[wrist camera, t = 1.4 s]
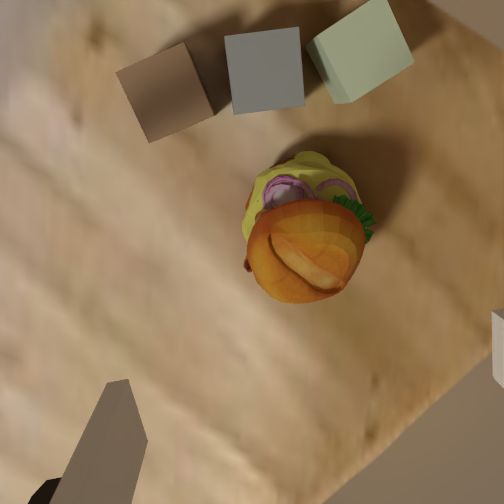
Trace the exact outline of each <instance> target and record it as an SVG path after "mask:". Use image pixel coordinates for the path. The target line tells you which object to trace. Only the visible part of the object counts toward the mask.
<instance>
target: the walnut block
mask: <svg viewBox="0 0 504 504" xmlns="http://www.w3.org/2000/svg"><path fill="white" fill-rule="evenodd" d="M116 74H117V76H118V78H119V81H120V83H121V85H122V87H123V89H124V91H125V93H126V95H127V98H128V100H129V102H130V104H131V106H132V108H133V110H134V112H135V115H136V117H137V119H138V121H139V123H140V125H141V127H142V130H143V132H144V134H145V136H146V138H147V140H148V142H149V143H151V142H153V141H156V140H158V139H161V138H163V137H165V136H168V135H170V134H172V133H175V132H177V131H179V130H182V129H184V128H186V127H189V126H191V125H193V124H196V123H198V122H200V121H203V120H205V119H208V118H210V117H212V116H215V115H216V113H215V111H214V109H213V106H212V104H211V101H210V99H209V96H208V94H207V91H206V89H205V87H204V84H203V82H202V79H201V77H200V74H199V72H198V70H197V67H196V65H195V62H194V60H193V57H192V55H191V52H190V51H189V49H188V48H187V46H186V45H185V43H184V42H183V43H180V44H178V45H176V46H174V47H171V48H169V49H167V50H164V51H162V52H160V53H158V54H155V55H153V56H151V57H149V58H146V59H144V60H142V61H140V62H137V63H135V64H133V65H131V66H128V67H126V68H124V69H122V70H119V71H117V72H116Z"/></svg>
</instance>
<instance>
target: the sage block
mask: <svg viewBox="0 0 504 504" xmlns="http://www.w3.org/2000/svg"><path fill="white" fill-rule="evenodd" d="M305 48H306V50H307V52H308V54H309V56H310V58H311V59H312V61H313V63H314V65H315V67H316V69H317V71H318V73H319V75H320V77H321V78H322V80H323V82H324V84H325V86H326V88H327V90H328V92H329V94H330V96H331V98H332V99H333V101H334V103H335V104H342V103H352V102H353V101H355V100H357V99H358V98H360V97H361V96H363V95H364V94H366V93H368V92H369V91H371V90H372V89H374V88H375V87H377V86H379V85H380V84H382V83H383V82H385V81H386V80H388V79H389V78H391V77H393V76H394V75H396V74H397V73H399V72H400V71H402V70H404V69H405V68H407V67H408V66H410V65H411V64H413V63H415V61H414V59H413V57H412V54H411V52H410V50H409V48H408V46H407V43H406V41H405V39H404V37H403V34H402V32H401V30H400V28H399V26H398V23H397V21H396V19H395V17H394V14H393V12H392V10H391V8H390V6H389V3H388V1H387V0H369V1H368V2H366V3H365V4H363V5H362V6H361V7H359V8H358V9H356V10H355V11H353V12H352V13H350V14H349V15H347V16H346V17H344V18H343V19H341V20H340V21H338V22H337V23H335V24H334V25H332V26H331V27H329V28H328V29H326V30H325V31H323V32H322V33H320V34H319V35H317V36H316V37H315V38H314V39H312V40H311V41H310V42H309V43H308V44H307V45H305Z"/></svg>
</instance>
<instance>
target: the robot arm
mask: <svg viewBox="0 0 504 504" xmlns="http://www.w3.org/2000/svg"><path fill="white" fill-rule="evenodd" d="M492 353H493V378H494V379H495V380H496V381H497V382H498V383H499V384H500V385H501V386H502V387H503V388H504V309H499V310H494V311H492ZM147 442H148V440H147V437H146V434H145V430H144V427H143V424H142V421H141V418H140V415H139V412H138V408H137V405H136V402H135V399H134V396H133V393H132V390H131V386H130V383H129V380H128V379H125V380H120V381H114V382H109V383H107V384H106V386H105V388H104V391H103V393H102V395H101V397H100V399H99V401H98V403H97V405H96V407H95V409H94V411H93V414H92V416H91V418H90V420H89V422H88V424H87V426H86V428H85V430H84V432H83V434H82V436H81V439H80V441H79V443H78V445H77V447H76V449H75V451H74V453H73V455H72V457H71V459H70V462H69V464H68V466H67V468H66V470H65V472H64V474H63V476H62V477H61V478H56V479H50V480H46V481H45V483H44V484H43V485H42V486H41V487H40V488H39V489H38V490H37V491H36V492H35V493H34V494H33V496H32V497H31V499H30V501H29V502H28V504H131V503H132V499H133V495H134V491H135V487H136V484H137V480H138V476H139V472H140V469H141V465H142V461H143V457H144V454H145V450H146V446H147Z"/></svg>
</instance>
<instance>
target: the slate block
mask: <svg viewBox="0 0 504 504" xmlns="http://www.w3.org/2000/svg"><path fill="white" fill-rule="evenodd" d="M224 41H225V51H226V59H227V67H228V75H229V82H230V90H231V98H232V106H233V113H234V115H236V114H244V113H252V112H259V111H267V110H275V109H283V108H290V107H298V106H305V98H304V85H303V72H302V60H301V47H300V34H299V27H292V28H284V29H276V30H268V31H260V32H252V33H244V34H236V35H228V36H224Z"/></svg>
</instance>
